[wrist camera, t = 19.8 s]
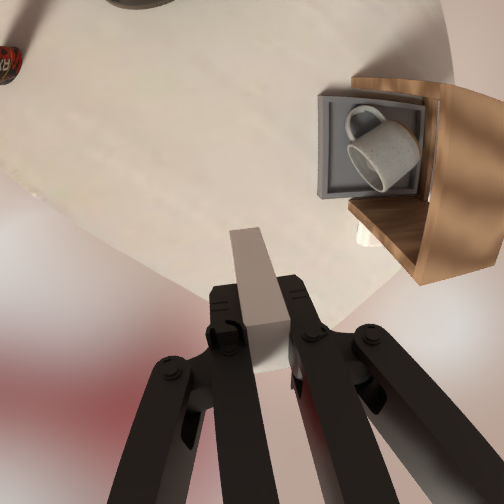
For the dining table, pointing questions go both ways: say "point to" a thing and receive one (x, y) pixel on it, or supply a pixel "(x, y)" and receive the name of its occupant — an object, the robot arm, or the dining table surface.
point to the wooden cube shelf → (445, 186)
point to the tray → (336, 139)
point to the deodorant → (9, 64)
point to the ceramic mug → (382, 150)
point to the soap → (366, 237)
